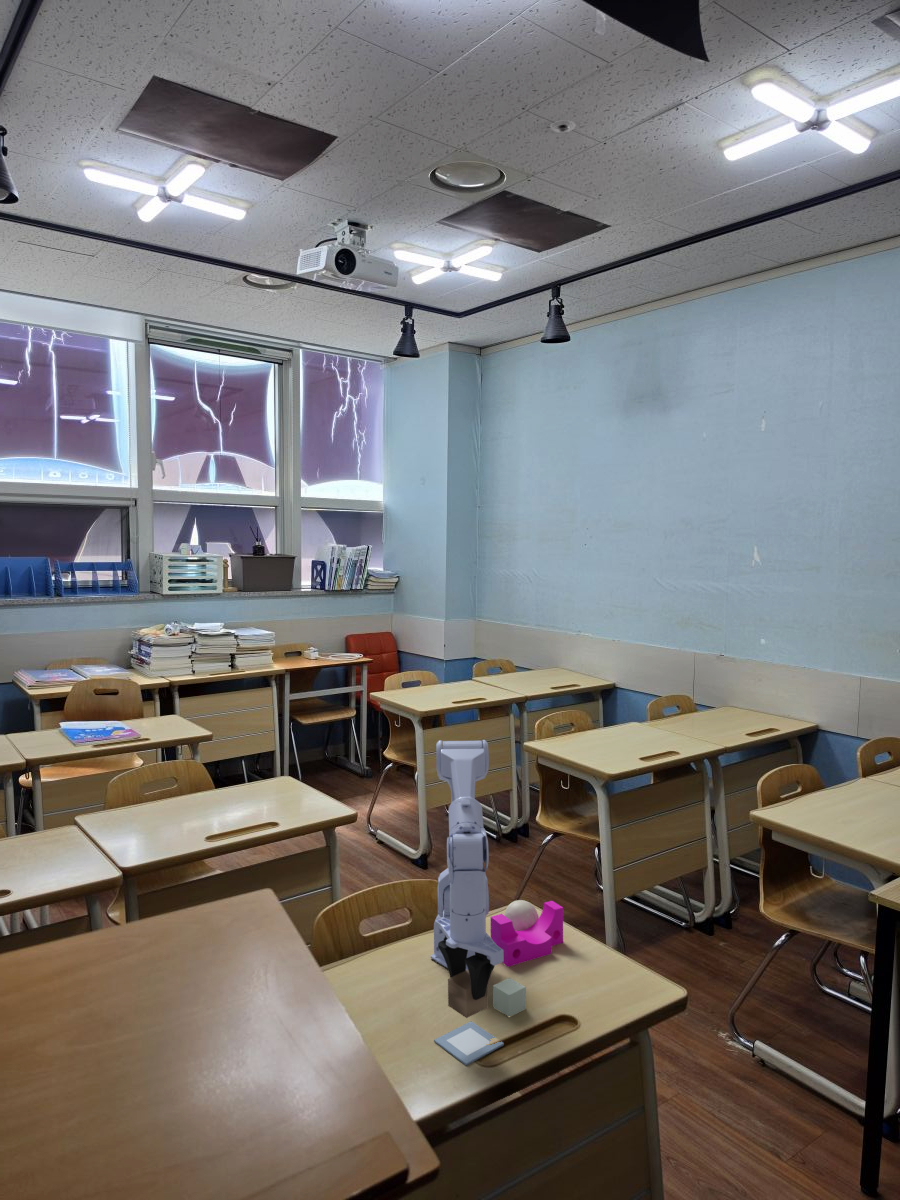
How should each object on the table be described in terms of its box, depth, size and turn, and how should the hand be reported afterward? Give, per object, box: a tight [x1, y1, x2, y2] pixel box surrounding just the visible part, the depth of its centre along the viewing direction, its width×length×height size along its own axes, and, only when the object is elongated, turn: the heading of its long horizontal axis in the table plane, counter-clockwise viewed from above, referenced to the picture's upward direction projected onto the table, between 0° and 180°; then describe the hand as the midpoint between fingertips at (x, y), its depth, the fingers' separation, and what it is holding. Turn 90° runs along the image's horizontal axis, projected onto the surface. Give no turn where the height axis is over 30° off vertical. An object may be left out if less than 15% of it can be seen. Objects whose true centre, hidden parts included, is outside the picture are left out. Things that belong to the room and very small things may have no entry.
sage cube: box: [492, 977, 527, 1017], centre depth 137 cm, size 4×4×4 cm
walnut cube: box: [447, 970, 489, 1019], centre depth 127 cm, size 4×4×4 cm
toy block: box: [490, 900, 564, 968], centre depth 158 cm, size 15×6×8 cm, turn 119°
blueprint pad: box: [433, 1021, 505, 1066], centre depth 128 cm, size 8×8×1 cm
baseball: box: [504, 899, 540, 931], centre depth 165 cm, size 7×7×7 cm
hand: (468, 990), depth 127 cm, fingers closed on walnut cube, 4 cm apart
